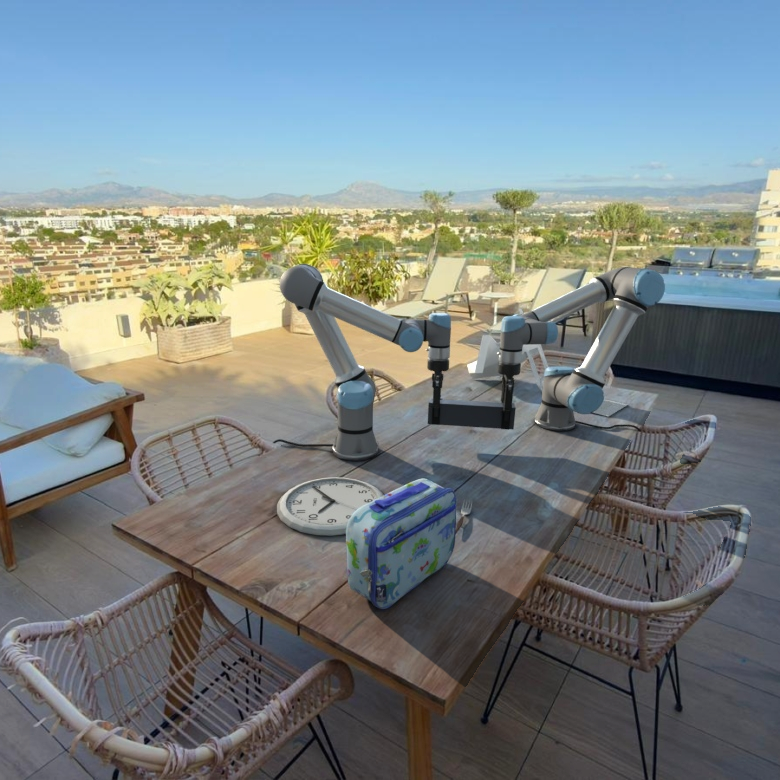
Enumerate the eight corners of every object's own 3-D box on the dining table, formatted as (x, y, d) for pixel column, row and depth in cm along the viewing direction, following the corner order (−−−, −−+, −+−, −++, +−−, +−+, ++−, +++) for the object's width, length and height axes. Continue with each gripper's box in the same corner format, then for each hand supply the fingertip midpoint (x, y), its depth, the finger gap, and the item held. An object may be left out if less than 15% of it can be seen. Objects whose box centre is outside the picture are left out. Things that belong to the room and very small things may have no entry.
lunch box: (375, 622, 100) (376, 527, 94) (339, 595, 108) (338, 505, 101) (459, 565, 118) (465, 481, 112) (424, 545, 125) (427, 465, 119)
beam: (512, 424, 187) (514, 403, 185) (513, 429, 182) (515, 407, 180) (428, 419, 190) (429, 398, 188) (427, 424, 185) (428, 402, 183)
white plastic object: (488, 421, 263) (468, 398, 238) (469, 347, 285) (449, 320, 260) (560, 397, 251) (547, 370, 226) (534, 322, 273) (519, 290, 248)
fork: (449, 535, 129) (449, 528, 129) (463, 505, 144) (463, 498, 143) (459, 537, 129) (460, 530, 128) (472, 507, 143) (473, 500, 142)
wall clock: (392, 527, 129) (269, 531, 127) (392, 533, 130) (269, 537, 127) (383, 473, 158) (282, 475, 155) (383, 478, 158) (283, 480, 156)
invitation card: (608, 416, 214) (573, 407, 224) (608, 416, 214) (573, 407, 224) (627, 404, 229) (594, 396, 238) (627, 405, 229) (594, 397, 239)
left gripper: (428, 352, 189) (426, 412, 196) (426, 364, 172) (424, 430, 179) (449, 352, 189) (446, 413, 195) (449, 365, 171) (446, 431, 178)
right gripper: (496, 355, 187) (491, 416, 194) (500, 368, 170) (495, 434, 177) (517, 356, 186) (512, 417, 193) (524, 369, 169) (518, 436, 176)
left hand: (435, 421), depth 187 cm, fingers closed on beam, 5 cm apart
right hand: (504, 425), depth 185 cm, fingers closed on beam, 5 cm apart
